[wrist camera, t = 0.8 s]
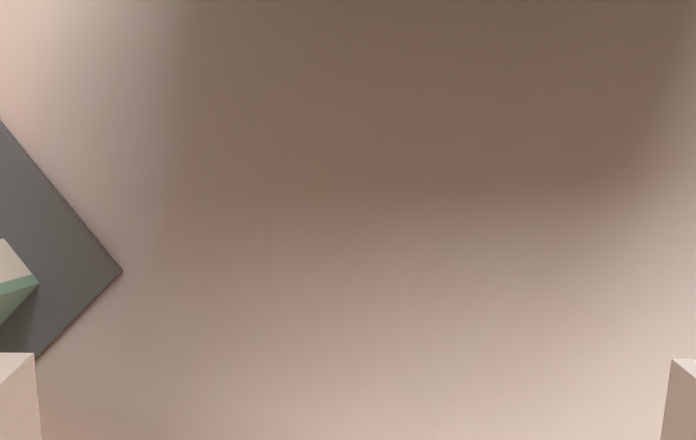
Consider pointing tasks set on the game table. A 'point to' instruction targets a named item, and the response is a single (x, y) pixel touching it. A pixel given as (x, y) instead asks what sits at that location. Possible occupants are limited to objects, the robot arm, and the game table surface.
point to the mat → (46, 253)
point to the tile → (13, 281)
